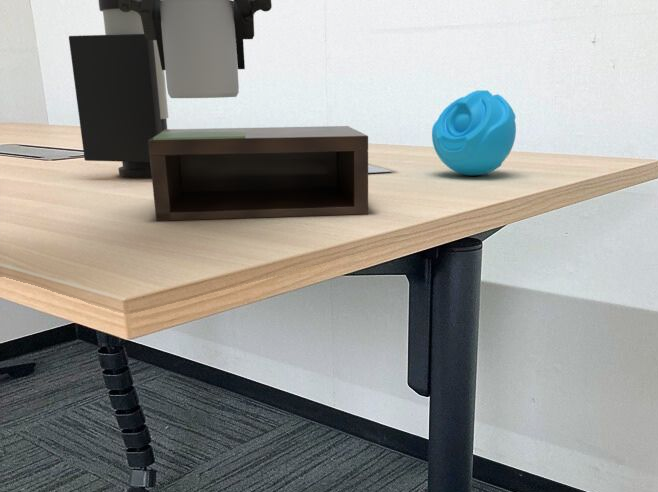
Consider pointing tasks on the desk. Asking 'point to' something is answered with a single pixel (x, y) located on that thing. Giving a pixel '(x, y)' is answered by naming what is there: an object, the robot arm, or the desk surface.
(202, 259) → the desk surface
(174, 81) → the cup
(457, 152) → the blue rounded piece
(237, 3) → the robot arm
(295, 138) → the shelf
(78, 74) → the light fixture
